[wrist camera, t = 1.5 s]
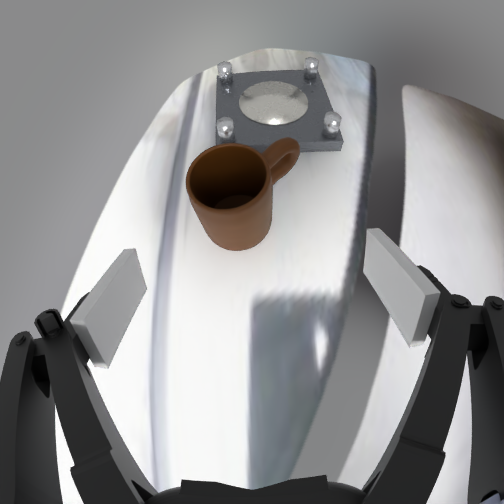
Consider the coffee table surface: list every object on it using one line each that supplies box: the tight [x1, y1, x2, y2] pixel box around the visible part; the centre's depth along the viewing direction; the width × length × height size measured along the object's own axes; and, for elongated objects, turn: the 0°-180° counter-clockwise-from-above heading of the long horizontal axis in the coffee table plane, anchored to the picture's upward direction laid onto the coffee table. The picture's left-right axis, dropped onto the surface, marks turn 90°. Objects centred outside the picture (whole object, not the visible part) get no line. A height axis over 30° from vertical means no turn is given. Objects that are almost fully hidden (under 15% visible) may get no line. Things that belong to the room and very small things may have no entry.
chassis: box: [216, 57, 343, 153], centre depth 36 cm, size 16×16×5 cm
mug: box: [186, 137, 300, 251], centre depth 29 cm, size 12×8×9 cm, turn 127°
